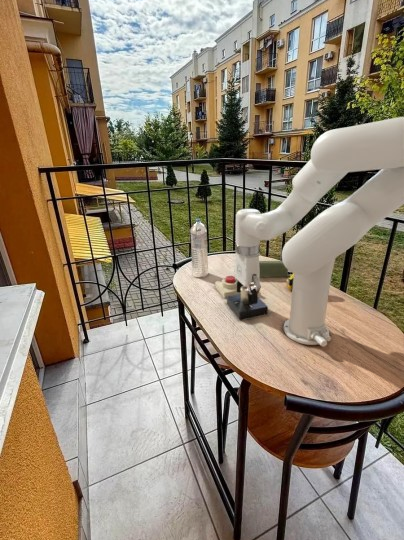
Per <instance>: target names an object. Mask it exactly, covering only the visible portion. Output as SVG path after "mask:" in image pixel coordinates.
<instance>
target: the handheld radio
mask: <svg viewBox="0 0 404 540" xmlns="http://www.w3.org/2000/svg"><path fill="white" fill-rule="evenodd" d="M259 266H260V277H271V278H273V277H274V278H276V277H277V278H279V277H280V278H283V277H285V278H287V277H291V275H292V274H293V273H292V272H290V271H289V270H288V269H287V268H286V267H285V266H284V264H283V261H282V260H259Z"/></svg>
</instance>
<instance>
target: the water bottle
mask: <svg viewBox="0 0 404 540" xmlns="http://www.w3.org/2000/svg"><path fill="white" fill-rule="evenodd" d="M189 233H190V245H191V247H190V251H191V269H192V272H191V273H192V275H193V277H195V278H205V277H207V276H208V275H209V266H208V265H209V264H208V262H209V260H208V259H209V258H208V239H207V238H208V236H207V227H206V226H205V225H204V224H203V223H202V222H201V218H195V223H194V224H192V225H191V227H190V229H189Z"/></svg>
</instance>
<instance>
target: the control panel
mask: <svg viewBox="0 0 404 540" xmlns="http://www.w3.org/2000/svg"><path fill="white" fill-rule="evenodd" d="M226 305H227V306H228V307H229V308H230V310H231V311H232V313H233V314H234V315H235V317H236V318H237V319H238V321H243V320H247V319H252V318H257V317H258V318H259V317H261V316H267V315H268V309H269V307H268V305H267V304H266V303H265V302H264V301H263V300H262V299H261V298H260V297H259V296H258V302H257V304H252V305H248V304H243V303H242V302H241V294H237V295H231V296H227V298H226Z"/></svg>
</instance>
